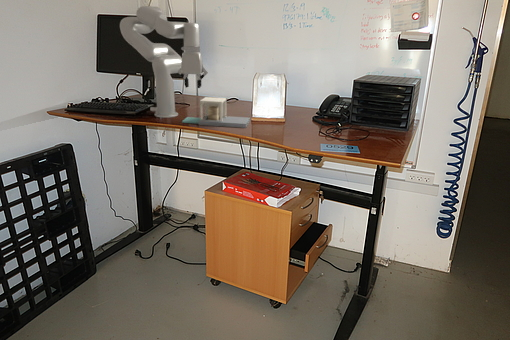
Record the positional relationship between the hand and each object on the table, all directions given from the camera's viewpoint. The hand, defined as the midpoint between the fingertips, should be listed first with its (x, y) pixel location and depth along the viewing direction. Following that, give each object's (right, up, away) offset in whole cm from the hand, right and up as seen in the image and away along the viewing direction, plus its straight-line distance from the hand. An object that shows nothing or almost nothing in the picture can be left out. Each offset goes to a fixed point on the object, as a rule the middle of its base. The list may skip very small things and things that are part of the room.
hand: (193, 87), depth 192 cm
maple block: (+10, -17, +5) cm, 20 cm away
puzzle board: (+16, -18, +4) cm, 24 cm away
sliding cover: (+10, -15, +4) cm, 19 cm away
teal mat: (-1, -16, +6) cm, 18 cm away
